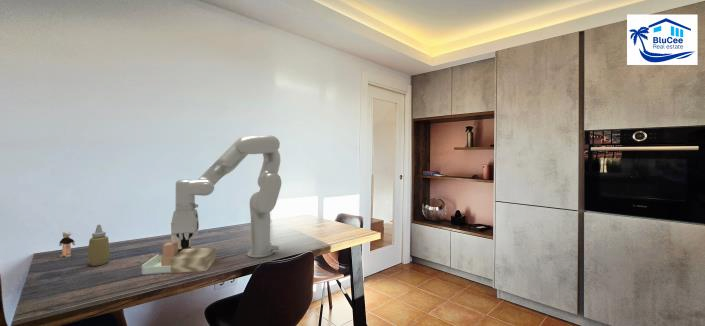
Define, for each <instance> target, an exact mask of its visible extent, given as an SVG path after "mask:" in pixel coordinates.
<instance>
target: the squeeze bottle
mask: <svg viewBox="0 0 705 326" xmlns="http://www.w3.org/2000/svg"><path fill="white" fill-rule="evenodd" d="M106 233H107V232H106V231H103V227H102V225H101V224H97V225H96V228H95V231H94V232H93V233H91V234H92V235H91V237H90V239H89V242H88V248H87V255H86V257H87V261H88V263H89V265H90V266H93V267H94V266H95V267H96V266H101V265H102V266H103V265H105V264H107V263H108V262H109V258H110V256H111V248H110V242H109V236H107V234H106Z"/></svg>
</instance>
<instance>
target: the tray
mask: <svg viewBox="0 0 705 326" xmlns="http://www.w3.org/2000/svg"><path fill="white" fill-rule="evenodd" d="M162 256H163V255H161V256H160V254H156V255H155V256H154V257H152V258H150V259H149V260H147V261H146V262H145V263H142V264H141V275H143V276H144V275H145V276H146V275H161V274H162V273H163V274H172V273H171V266H161V257H162Z"/></svg>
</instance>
